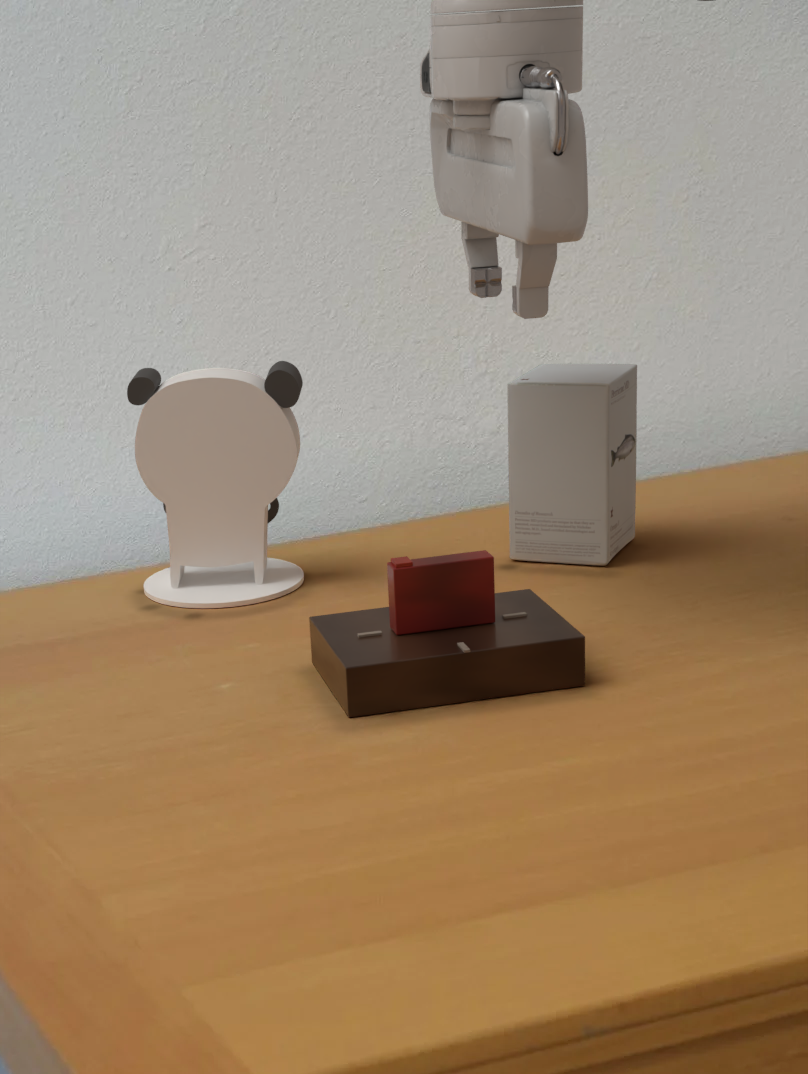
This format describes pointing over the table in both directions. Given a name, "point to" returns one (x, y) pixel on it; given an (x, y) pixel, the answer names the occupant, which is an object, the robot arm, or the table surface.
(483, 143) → the robot arm
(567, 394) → the white packaging box
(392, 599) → the red rectangular block
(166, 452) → the panda figurine
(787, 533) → the table surface
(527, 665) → the stamp base
